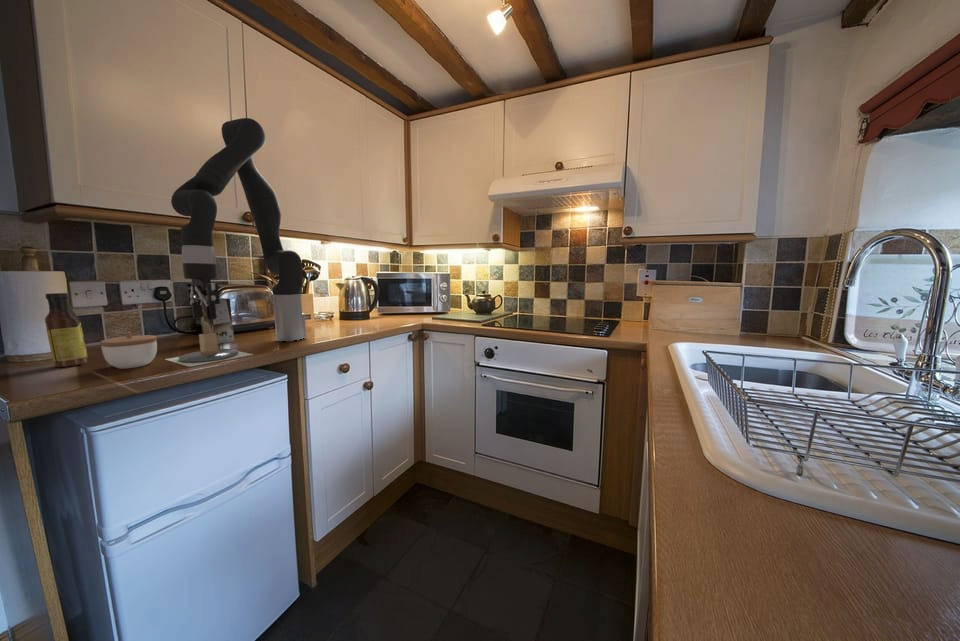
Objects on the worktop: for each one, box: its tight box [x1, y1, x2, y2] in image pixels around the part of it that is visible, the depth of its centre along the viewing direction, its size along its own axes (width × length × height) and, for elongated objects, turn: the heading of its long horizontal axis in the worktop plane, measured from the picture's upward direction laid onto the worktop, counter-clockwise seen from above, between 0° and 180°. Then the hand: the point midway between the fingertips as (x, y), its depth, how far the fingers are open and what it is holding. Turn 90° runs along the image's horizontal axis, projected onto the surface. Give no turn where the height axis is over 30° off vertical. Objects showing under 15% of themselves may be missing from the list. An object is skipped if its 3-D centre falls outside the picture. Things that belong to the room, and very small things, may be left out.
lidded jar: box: [99, 331, 158, 369], centre depth 94 cm, size 11×11×9 cm
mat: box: [164, 350, 254, 367], centre depth 104 cm, size 16×16×1 cm
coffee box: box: [200, 297, 235, 345], centre depth 126 cm, size 9×6×16 cm
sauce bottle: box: [44, 292, 88, 368], centre depth 94 cm, size 7×6×20 cm
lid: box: [178, 333, 239, 363], centre depth 103 cm, size 14×14×7 cm
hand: (204, 318), depth 102 cm, fingers open, 8 cm apart
